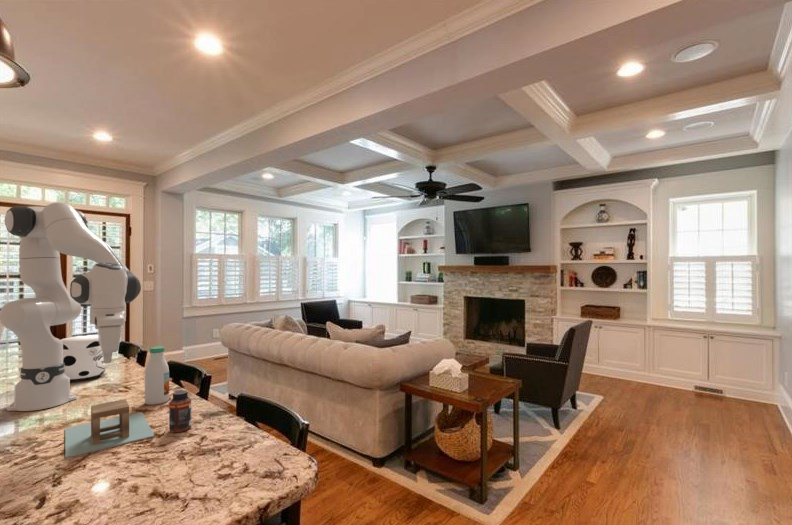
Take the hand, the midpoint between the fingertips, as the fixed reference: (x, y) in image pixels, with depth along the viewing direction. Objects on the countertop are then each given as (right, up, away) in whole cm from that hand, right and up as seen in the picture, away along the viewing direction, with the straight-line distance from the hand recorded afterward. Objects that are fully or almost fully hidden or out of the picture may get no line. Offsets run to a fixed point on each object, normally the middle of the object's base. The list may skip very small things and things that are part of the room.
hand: (107, 362), depth 120 cm
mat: (+2, -21, -1) cm, 21 cm away
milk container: (-53, -22, +57) cm, 81 cm away
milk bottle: (0, -21, +26) cm, 33 cm away
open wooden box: (+1, -16, -1) cm, 16 cm away
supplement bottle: (+22, -21, +1) cm, 30 cm away
